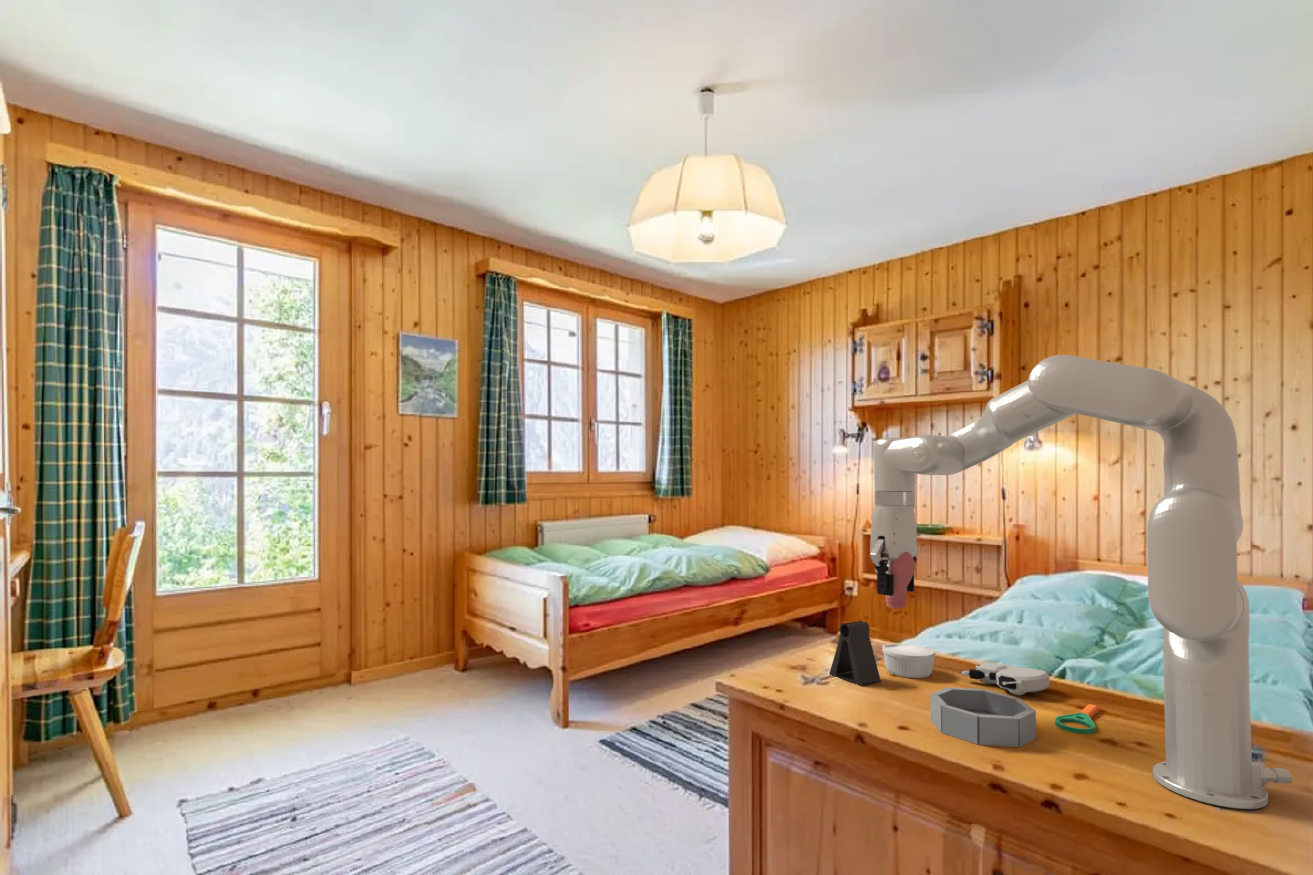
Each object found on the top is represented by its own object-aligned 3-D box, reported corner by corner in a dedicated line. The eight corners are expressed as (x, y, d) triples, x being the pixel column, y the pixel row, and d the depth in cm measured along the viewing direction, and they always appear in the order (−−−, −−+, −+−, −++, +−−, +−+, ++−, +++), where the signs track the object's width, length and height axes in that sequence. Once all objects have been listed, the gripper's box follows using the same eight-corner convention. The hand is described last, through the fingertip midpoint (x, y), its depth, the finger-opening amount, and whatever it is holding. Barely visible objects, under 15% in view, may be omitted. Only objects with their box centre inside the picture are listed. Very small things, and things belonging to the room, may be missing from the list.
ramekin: (897, 662, 157) (897, 640, 158) (944, 673, 149) (944, 649, 149) (872, 671, 150) (872, 647, 150) (921, 683, 142) (920, 658, 142)
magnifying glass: (1089, 739, 113) (1089, 728, 113) (1049, 729, 118) (1049, 719, 118) (1112, 717, 124) (1111, 708, 124) (1074, 709, 128) (1074, 700, 128)
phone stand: (829, 675, 146) (829, 619, 147) (848, 671, 149) (848, 617, 150) (861, 686, 139) (860, 628, 139) (880, 682, 142) (880, 625, 142)
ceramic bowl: (1009, 715, 123) (1009, 690, 123) (1049, 748, 108) (1048, 720, 108) (923, 710, 125) (923, 685, 125) (949, 742, 110) (949, 715, 110)
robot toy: (958, 686, 143) (1025, 702, 130) (956, 664, 144) (1023, 678, 130) (994, 679, 149) (1062, 693, 136) (993, 658, 149) (1060, 670, 136)
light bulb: (904, 614, 124) (903, 549, 125) (869, 608, 130) (869, 546, 131) (922, 609, 129) (921, 547, 130) (888, 604, 134) (888, 544, 135)
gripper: (900, 499, 139) (901, 586, 138) (852, 500, 128) (853, 594, 127) (934, 500, 133) (936, 590, 132) (888, 502, 122) (889, 600, 121)
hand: (895, 591), depth 130 cm, fingers closed on light bulb, 6 cm apart
